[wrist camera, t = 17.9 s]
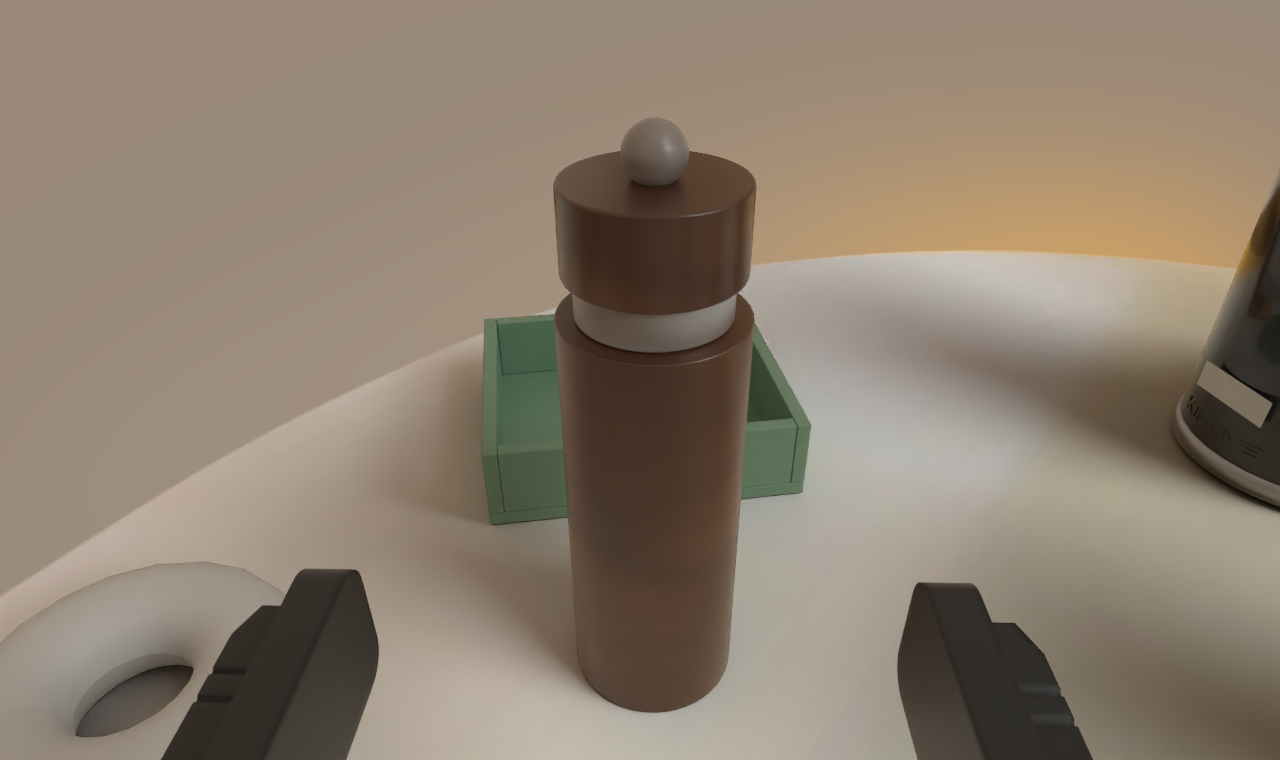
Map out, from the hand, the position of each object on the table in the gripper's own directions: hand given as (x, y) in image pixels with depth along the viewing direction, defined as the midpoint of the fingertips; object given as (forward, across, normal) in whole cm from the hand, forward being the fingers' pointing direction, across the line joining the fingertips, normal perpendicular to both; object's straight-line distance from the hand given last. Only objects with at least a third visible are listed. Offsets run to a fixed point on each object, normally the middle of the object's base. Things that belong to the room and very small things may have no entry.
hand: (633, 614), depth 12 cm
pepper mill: (+11, 0, +14) cm, 17 cm away
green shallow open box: (+23, +1, +14) cm, 27 cm away
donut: (+7, +16, +14) cm, 22 cm away
